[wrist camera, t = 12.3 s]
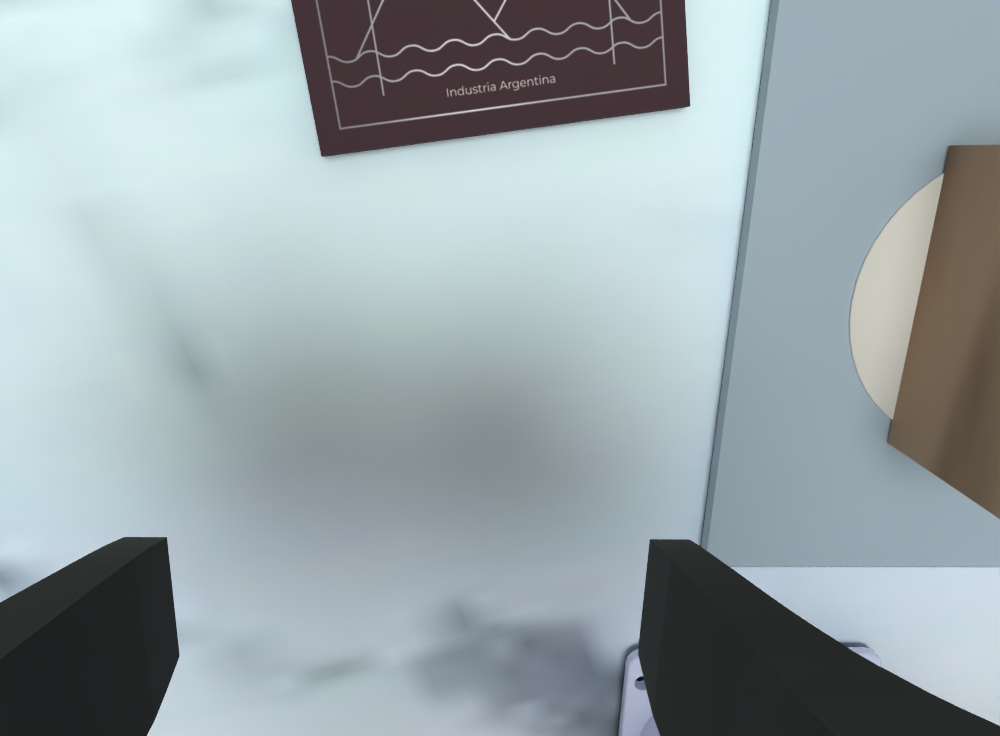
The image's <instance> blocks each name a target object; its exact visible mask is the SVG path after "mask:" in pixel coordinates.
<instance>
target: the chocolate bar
mask: <svg viewBox="0 0 1000 736" xmlns="http://www.w3.org/2000/svg"><path fill="white" fill-rule="evenodd" d="M291 2H292V7H293V12H294V17H295V22H296V27H297V33H298V38H299V43H300V48H301V53H302V58H303V63H304V69H305V74H306V79H307V84H308V89H309V94H310V99H311V105H312V110H313V115H314V120H315V125H316V130H317V135H318V141H319V146H320V151H321V156H332V155H339V154H347V153H354V152H361V151H369V150H376V149H383V148H391V147H398V146H405V145H413V144H420V143H427V142H435V141H442V140H449V139H457V138H464V137H471V136H479V135H486V134H493V133H501V132H508V131H515V130H523V129H530V128H537V127H545V126H552V125H559V124H567V123H574V122H581V121H589V120H596V119H603V118H611V117H618V116H625V115H633V114H640V113H647V112H655V111H662V110H669V109H677V108H684V107H689V106H690V94H689V75H688V55H687V35H686V16H685V0H291Z"/></svg>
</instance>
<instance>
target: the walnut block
mask: <svg viewBox="0 0 1000 736" xmlns="http://www.w3.org/2000/svg"><path fill="white" fill-rule="evenodd" d="M888 444H890V445H891V446H893V447H894V448H896V449H897V450H899V451H900V452H902V453H903V454H905V455H906V456H908V457H909V458H911V459H912V460H913V461H915V462H916V463H918V464H919V465H921V466H922V467H924V468H925V469H927V470H928V471H930V472H931V473H933V474H934V475H936V476H937V477H938V478H940V479H941V480H943V481H944V482H946V483H947V484H949V485H950V486H952V487H953V488H955V489H956V490H958V491H959V492H961V493H962V494H963V495H965V496H966V497H968V498H969V499H971V500H972V501H974V502H975V503H977V504H978V505H980V506H981V507H983V508H984V509H986V510H987V511H988V512H990V513H991V514H993V515H994V516H996V517H997V518H999V519H1000V145H950V147H949V152H948V156H947V161H946V166H945V171H944V176H943V181H942V186H941V191H940V196H939V200H938V205H937V210H936V215H935V220H934V224H933V229H932V234H931V239H930V244H929V248H928V253H927V258H926V263H925V268H924V272H923V277H922V282H921V287H920V292H919V296H918V301H917V306H916V311H915V316H914V320H913V325H912V330H911V335H910V340H909V344H908V349H907V354H906V359H905V364H904V368H903V373H902V378H901V383H900V387H899V392H898V397H897V402H896V407H895V411H894V416H893V420H892V425H891V429H890V434H889V439H888Z"/></svg>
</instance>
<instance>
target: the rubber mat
mask: <svg viewBox="0 0 1000 736" xmlns="http://www.w3.org/2000/svg"><path fill="white" fill-rule="evenodd" d="M950 145H1000V0H771V7H770V14H769V22H768V30H767V38H766V45H765V53H764V61H763V69H762V76H761V84H760V92H759V100H758V108H757V115H756V123H755V131H754V139H753V146H752V154H751V162H750V170H749V177H748V185H747V193H746V201H745V208H744V216H743V224H742V232H741V240H740V247H739V255H738V263H737V271H736V278H735V286H734V294H733V302H732V309H731V317H730V325H729V333H728V341H727V348H726V356H725V364H724V372H723V379H722V387H721V395H720V403H719V410H718V418H717V426H716V434H715V441H714V449H713V457H712V465H711V473H710V480H709V488H708V496H707V504H706V511H705V519H704V527H703V535H702V542H701V547H702V548H704V549H705V550H706V551H708V552H709V553H711V554H712V555H714V556H715V557H716V558H718V559H719V560H721V561H722V562H723V563H725V564H726V565H727V566H729V567H1000V519H999V518H997V517H996V516H994V515H993V514H991V513H990V512H988V511H987V510H986V509H984V508H983V507H981V506H980V505H978V504H977V503H975V502H974V501H972V500H971V499H969V498H968V497H966V496H965V495H963V494H962V493H961V492H959V491H958V490H956V489H955V488H953V487H952V486H950V485H949V484H947V483H946V482H944V481H943V480H941V479H940V478H938V477H937V476H936V475H934V474H933V473H931V472H930V471H928V470H927V469H925V468H924V467H922V466H921V465H919V464H918V463H916V462H915V461H913V460H912V459H911V458H909V457H908V456H906V455H905V454H903V453H902V452H900V451H899V450H897V449H896V448H894V447H893V446H891V445H890V444H888V439H889V434H890V429H891V425H892V420H893V416H894V411H895V407H896V402H897V397H898V392H899V387H900V383H901V378H902V373H903V368H904V364H905V359H906V354H907V349H908V344H909V340H910V335H911V330H912V325H913V320H914V316H915V311H916V306H917V301H918V296H919V292H920V287H921V282H922V277H923V272H924V268H925V263H926V258H927V253H928V248H929V244H930V239H931V234H932V229H933V224H934V220H935V215H936V210H937V205H938V200H939V196H940V191H941V186H942V181H943V176H944V171H945V166H946V161H947V156H948V152H949V147H950Z"/></svg>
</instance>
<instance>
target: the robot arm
mask: <svg viewBox="0 0 1000 736" xmlns="http://www.w3.org/2000/svg"><path fill="white" fill-rule="evenodd" d="M178 658H179V648H178V638H177V629H176V619H175V610H174V601H173V591H172V582H171V572H170V563H169V554H168V544H167V537H124V538H121V539H119V540H117V541H114V542H112V543H110V544H108V545H106V546H104V547H102V548H100V549H98V550H96V551H94V552H92V553H90V554H88V555H86V556H84V557H82V558H81V559H79V560H77V561H75V562H73V563H71V564H70V565H68V566H66V567H64V568H62V569H61V570H59V571H57V572H55V573H53V574H51V575H50V576H48V577H46V578H44V579H42V580H41V581H39V582H37V583H35V584H33V585H31V586H30V587H28V588H26V589H24V590H22V591H21V592H19V593H17V594H15V595H13V596H11V597H10V598H8V599H6V600H4V601H2V602H1V603H0V736H147V734H148V732H149V730H150V728H151V726H152V724H153V722H154V720H155V718H156V716H157V713H158V711H159V708H160V706H161V703H162V701H163V698H164V696H165V693H166V691H167V688H168V685H169V683H170V680H171V677H172V675H173V672H174V669H175V666H176V664H177V661H178ZM641 676H643V678H644V680H643V681H635V680H636V679H637V678H638V677H641ZM618 736H1000V726H999V725H996V724H994V723H992V722H990V721H988V720H985V719H983V718H981V717H979V716H977V715H974V714H972V713H970V712H968V711H965V710H963V709H961V708H959V707H957V706H955V705H953V704H951V703H949V702H947V701H945V700H943V699H941V698H938V697H936V696H934V695H932V694H930V693H928V692H926V691H925V690H923V689H921V688H919V687H917V686H915V685H913V684H912V683H910V682H908V681H906V680H904V679H902V678H900V677H898V676H897V675H895V674H893V673H891V672H889V671H887V670H885V669H884V668H882V667H881V661H880V659H879V657H878V656H877V655H876V654H875V652H874V651H873V650H871V649H870V648H866V647H846V646H844V645H843V644H841V643H840V642H838V641H836V640H835V639H833V638H832V637H830V636H828V635H827V634H825V633H824V632H822V631H821V630H819V629H817V628H816V627H814V626H813V625H811V624H810V623H808V622H807V621H805V620H804V619H802V618H801V617H799V616H798V615H796V614H795V613H793V612H792V611H790V610H789V609H787V608H786V607H785V606H783V605H782V604H780V603H779V602H777V601H776V600H775V599H773V598H772V597H770V596H769V595H767V594H766V593H765V592H763V591H762V590H760V589H759V588H758V587H756V586H755V585H754V584H752V583H751V582H749V581H748V580H747V579H745V578H744V577H743V576H741V575H740V574H738V573H737V572H736V571H734V570H733V569H732V568H730V567H729V566H727V565H726V564H725V563H723V562H722V561H721V560H719V559H718V558H716V557H715V556H714V555H712V554H711V553H709V552H708V551H706V550H705V549H704V548H702V547H700V546H699V545H697V544H696V543H694V542H692V541H691V540H658V539H650V544H649V554H648V563H647V573H646V582H645V591H644V601H643V610H642V620H641V629H640V639H639V648H638V649H636V650H634V651H633V652H631V653H630V654H629V656H628V657H627V660H626V665H625V675H624V684H623V694H622V704H621V714H620V724H619V734H618Z"/></svg>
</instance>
